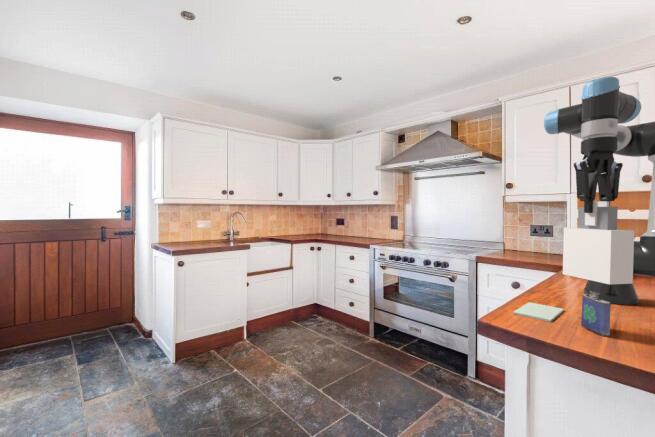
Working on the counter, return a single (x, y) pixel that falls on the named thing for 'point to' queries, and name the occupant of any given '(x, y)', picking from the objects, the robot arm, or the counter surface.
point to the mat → (539, 311)
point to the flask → (595, 314)
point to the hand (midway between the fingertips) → (596, 225)
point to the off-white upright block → (599, 249)
